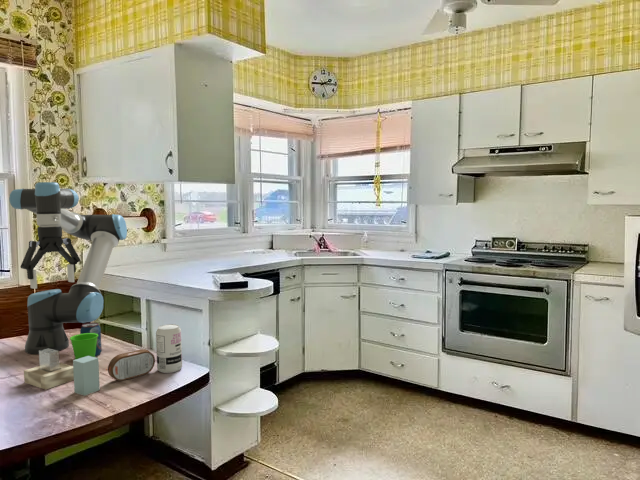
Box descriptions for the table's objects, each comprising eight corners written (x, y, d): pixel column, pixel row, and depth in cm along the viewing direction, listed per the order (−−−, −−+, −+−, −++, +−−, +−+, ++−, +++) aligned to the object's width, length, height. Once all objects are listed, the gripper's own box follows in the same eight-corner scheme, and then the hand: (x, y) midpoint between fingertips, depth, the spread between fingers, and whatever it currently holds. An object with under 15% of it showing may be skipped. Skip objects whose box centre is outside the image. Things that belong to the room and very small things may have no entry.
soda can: (103, 356, 175) (101, 324, 174) (82, 359, 171) (81, 327, 170) (100, 351, 181) (98, 321, 180) (80, 354, 177) (78, 323, 176)
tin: (152, 370, 160) (151, 346, 159) (156, 372, 157) (155, 348, 157) (107, 382, 149) (106, 356, 148) (111, 384, 147) (110, 358, 146)
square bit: (89, 386, 145) (88, 355, 144) (99, 389, 142) (98, 358, 142) (74, 392, 141) (72, 360, 140) (84, 395, 138) (83, 363, 137)
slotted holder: (55, 372, 158) (54, 361, 157) (76, 379, 152) (75, 367, 151) (24, 382, 149) (23, 370, 149) (45, 389, 143) (45, 377, 143)
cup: (88, 372, 158) (86, 340, 157) (65, 370, 160) (63, 339, 159) (105, 363, 166) (104, 333, 166) (83, 362, 168) (81, 332, 167)
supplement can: (160, 365, 164) (159, 324, 162) (184, 365, 164) (183, 323, 163) (154, 374, 155) (152, 330, 154) (179, 373, 156) (177, 329, 155)
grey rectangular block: (49, 377, 153) (48, 348, 152) (60, 381, 150) (58, 350, 149) (40, 380, 151) (38, 350, 150) (51, 384, 148) (49, 353, 147)
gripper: (18, 228, 151) (22, 292, 153) (88, 224, 173) (91, 280, 175) (6, 227, 155) (10, 290, 157) (76, 223, 177) (79, 278, 179)
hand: (53, 285), depth 166 cm, fingers open, 13 cm apart
